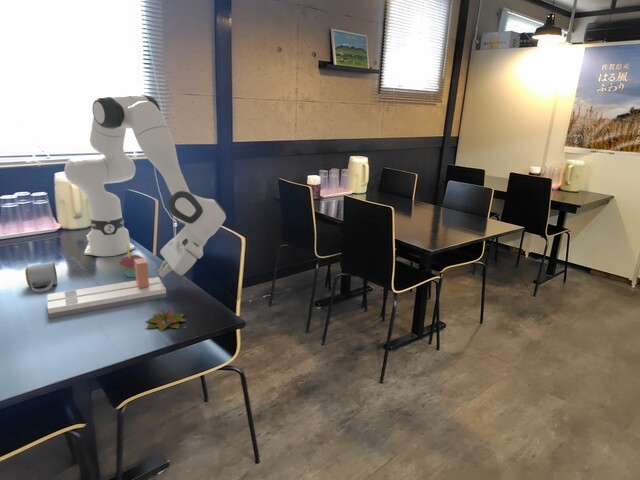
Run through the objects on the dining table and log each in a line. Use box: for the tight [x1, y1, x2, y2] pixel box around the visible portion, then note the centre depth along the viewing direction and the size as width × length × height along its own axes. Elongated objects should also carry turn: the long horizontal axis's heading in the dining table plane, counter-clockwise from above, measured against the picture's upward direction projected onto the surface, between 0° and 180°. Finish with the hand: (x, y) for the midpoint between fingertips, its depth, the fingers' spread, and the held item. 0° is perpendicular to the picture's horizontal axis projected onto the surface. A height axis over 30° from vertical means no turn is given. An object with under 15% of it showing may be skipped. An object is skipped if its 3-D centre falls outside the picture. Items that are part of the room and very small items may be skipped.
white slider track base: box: [46, 276, 167, 319], centre depth 133 cm, size 11×32×3 cm, turn 121°
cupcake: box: [119, 246, 143, 278], centre depth 153 cm, size 9×8×12 cm
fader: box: [134, 257, 149, 288], centre depth 137 cm, size 5×3×10 cm, turn 31°
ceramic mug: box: [25, 261, 58, 294], centre depth 140 cm, size 11×8×8 cm
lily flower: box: [144, 306, 187, 332], centre depth 122 cm, size 12×12×5 cm
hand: (159, 274), depth 140 cm, fingers closed
